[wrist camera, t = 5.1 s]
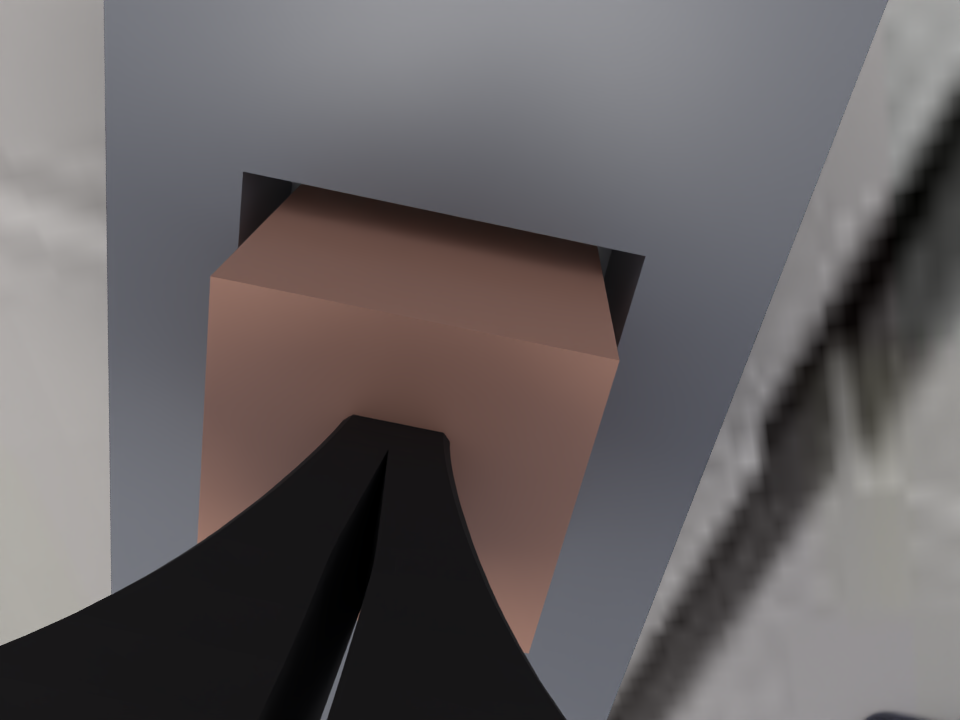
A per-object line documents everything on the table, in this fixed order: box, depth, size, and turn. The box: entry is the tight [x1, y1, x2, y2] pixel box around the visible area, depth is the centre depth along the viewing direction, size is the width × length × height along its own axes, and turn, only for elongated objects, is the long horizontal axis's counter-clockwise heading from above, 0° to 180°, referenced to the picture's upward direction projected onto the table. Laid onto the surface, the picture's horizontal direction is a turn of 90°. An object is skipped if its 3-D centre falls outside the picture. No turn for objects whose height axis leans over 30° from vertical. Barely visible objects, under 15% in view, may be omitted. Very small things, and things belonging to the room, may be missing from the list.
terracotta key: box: [197, 184, 620, 653], centre depth 13 cm, size 5×5×4 cm
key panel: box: [104, 0, 888, 720], centre depth 18 cm, size 10×26×4 cm, turn 169°
